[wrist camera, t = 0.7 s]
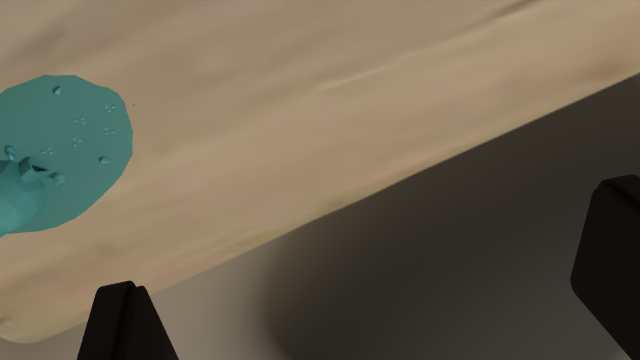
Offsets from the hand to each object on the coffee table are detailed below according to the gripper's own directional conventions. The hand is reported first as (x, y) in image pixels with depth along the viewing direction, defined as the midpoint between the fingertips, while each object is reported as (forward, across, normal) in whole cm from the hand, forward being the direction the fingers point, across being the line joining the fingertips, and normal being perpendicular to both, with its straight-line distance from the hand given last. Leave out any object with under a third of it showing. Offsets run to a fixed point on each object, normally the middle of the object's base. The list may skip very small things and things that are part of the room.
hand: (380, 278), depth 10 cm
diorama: (+30, +20, +10) cm, 37 cm away
